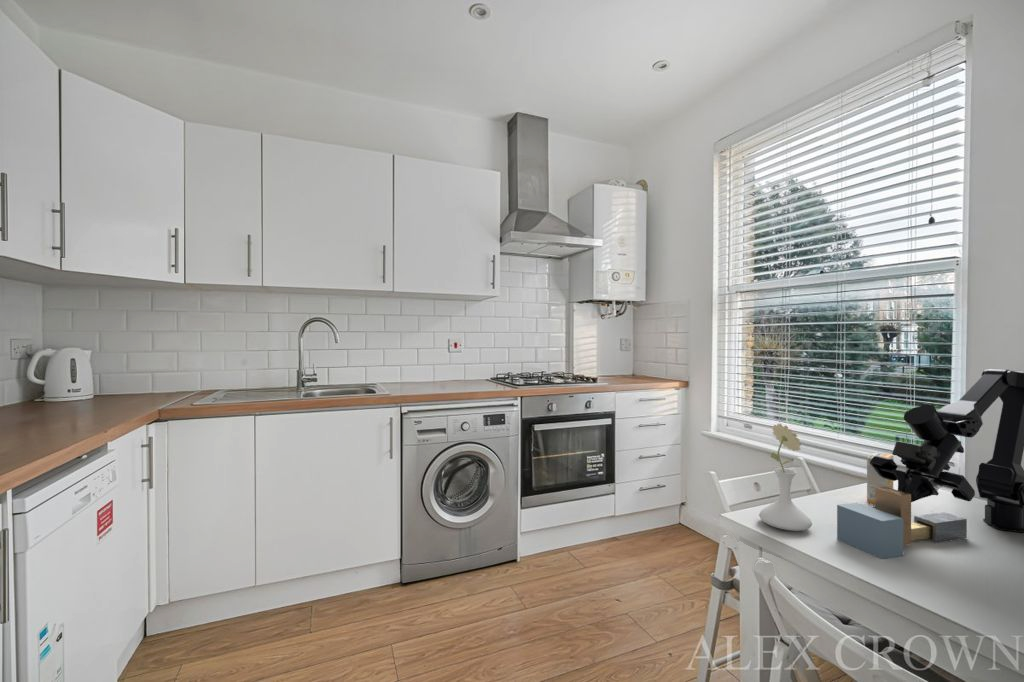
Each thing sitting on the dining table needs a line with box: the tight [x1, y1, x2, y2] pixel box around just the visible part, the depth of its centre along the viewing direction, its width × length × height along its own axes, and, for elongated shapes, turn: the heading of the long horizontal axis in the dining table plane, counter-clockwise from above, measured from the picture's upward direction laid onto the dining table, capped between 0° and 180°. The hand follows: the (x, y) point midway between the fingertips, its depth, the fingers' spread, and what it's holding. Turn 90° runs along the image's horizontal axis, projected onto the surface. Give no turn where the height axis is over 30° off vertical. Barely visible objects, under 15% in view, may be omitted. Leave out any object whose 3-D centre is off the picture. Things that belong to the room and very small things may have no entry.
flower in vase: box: [758, 423, 813, 532], centre depth 114 cm, size 13×11×25 cm
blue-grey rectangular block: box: [836, 502, 904, 560], centre depth 102 cm, size 6×10×8 cm, turn 15°
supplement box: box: [866, 452, 894, 504], centre depth 132 cm, size 8×5×13 cm, turn 130°
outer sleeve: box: [913, 511, 968, 544], centre depth 107 cm, size 10×4×5 cm, turn 105°
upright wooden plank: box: [874, 487, 933, 546], centre depth 104 cm, size 20×6×11 cm, turn 105°
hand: (899, 504), depth 104 cm, fingers closed, pressing on upright wooden plank
